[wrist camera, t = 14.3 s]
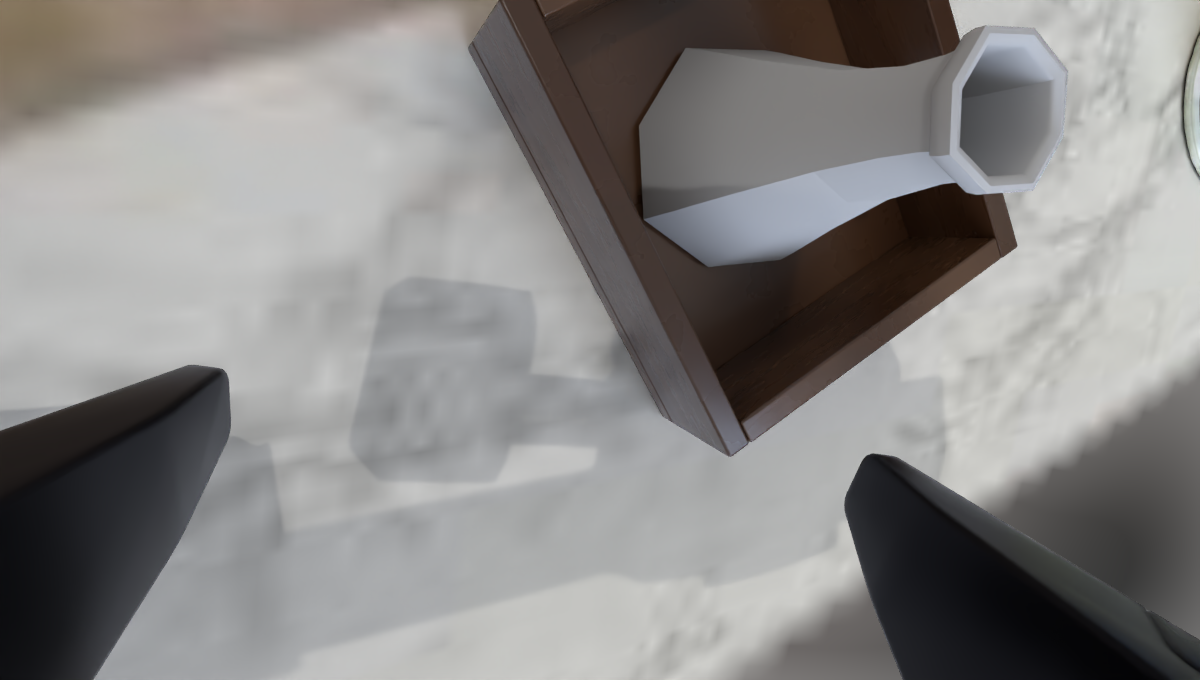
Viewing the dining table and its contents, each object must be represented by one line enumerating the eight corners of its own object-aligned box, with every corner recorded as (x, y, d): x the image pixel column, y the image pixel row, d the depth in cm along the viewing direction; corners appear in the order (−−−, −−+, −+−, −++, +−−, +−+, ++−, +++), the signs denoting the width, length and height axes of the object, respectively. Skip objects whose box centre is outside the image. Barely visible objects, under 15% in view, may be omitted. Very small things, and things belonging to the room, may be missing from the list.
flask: (663, 10, 20) (929, -178, 11) (842, 89, 23) (1177, -6, 13) (608, 240, 20) (815, 250, 11) (788, 290, 23) (1075, 330, 14)
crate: (662, 417, 23) (730, 459, 19) (466, 48, 19) (498, -3, 15) (912, 243, 26) (1018, 246, 22) (791, -114, 22) (895, -195, 17)
